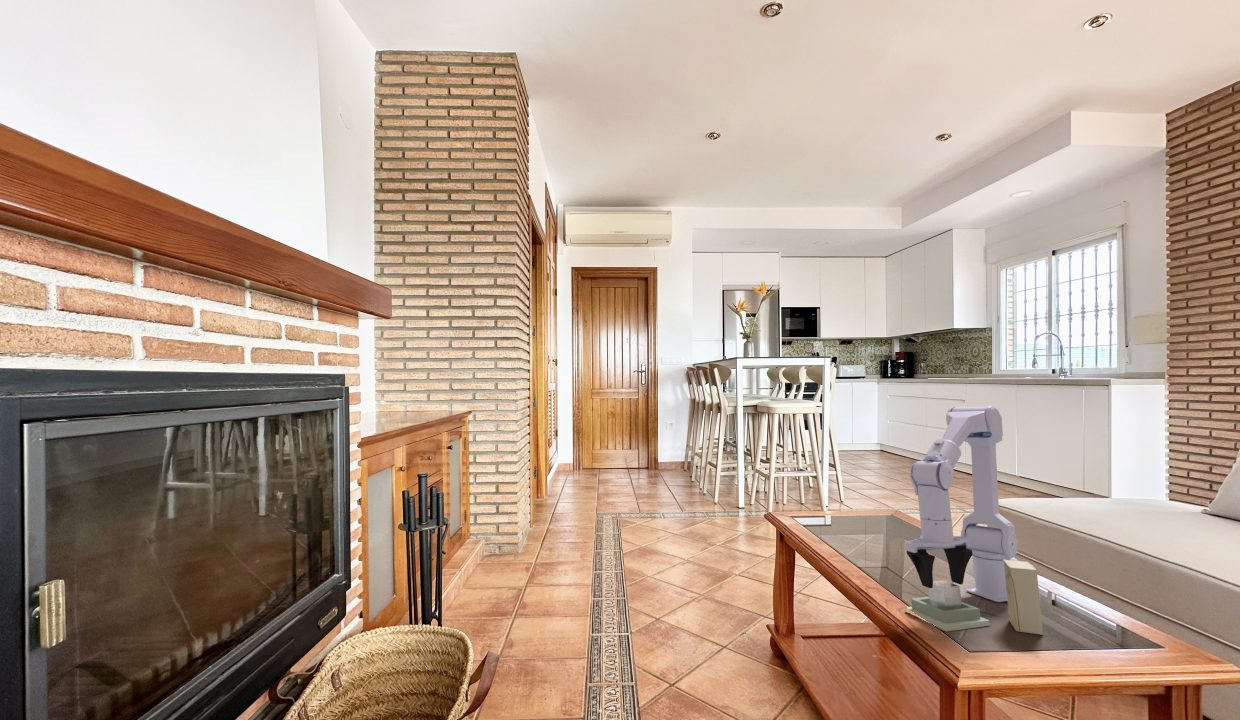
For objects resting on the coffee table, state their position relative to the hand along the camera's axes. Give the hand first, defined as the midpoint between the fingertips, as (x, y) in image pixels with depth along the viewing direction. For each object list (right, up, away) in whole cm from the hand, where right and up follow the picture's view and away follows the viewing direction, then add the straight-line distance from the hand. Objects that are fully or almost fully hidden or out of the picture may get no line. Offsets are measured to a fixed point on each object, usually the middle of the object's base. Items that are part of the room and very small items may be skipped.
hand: (942, 584), depth 105 cm
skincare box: (+13, -6, -6) cm, 15 cm away
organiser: (0, -7, -1) cm, 7 cm away
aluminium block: (0, -6, -1) cm, 6 cm away
